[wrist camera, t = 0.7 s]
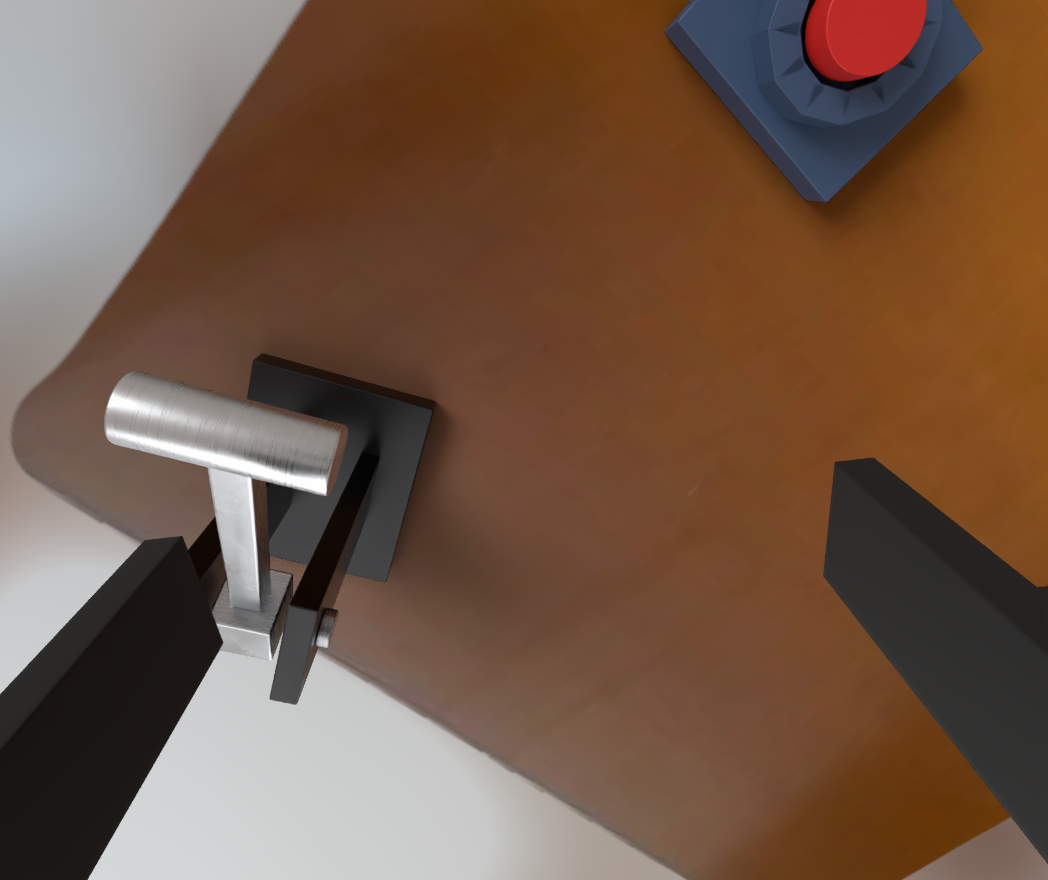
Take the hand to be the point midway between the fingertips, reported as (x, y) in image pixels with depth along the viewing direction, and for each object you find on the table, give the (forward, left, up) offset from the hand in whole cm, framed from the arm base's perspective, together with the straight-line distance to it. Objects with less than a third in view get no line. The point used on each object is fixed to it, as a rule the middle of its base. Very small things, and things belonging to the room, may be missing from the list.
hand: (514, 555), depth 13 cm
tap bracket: (+8, -9, -20) cm, 24 cm away
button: (-13, +13, -17) cm, 25 cm away
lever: (+3, -8, -7) cm, 11 cm away
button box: (-13, +13, -20) cm, 27 cm away
